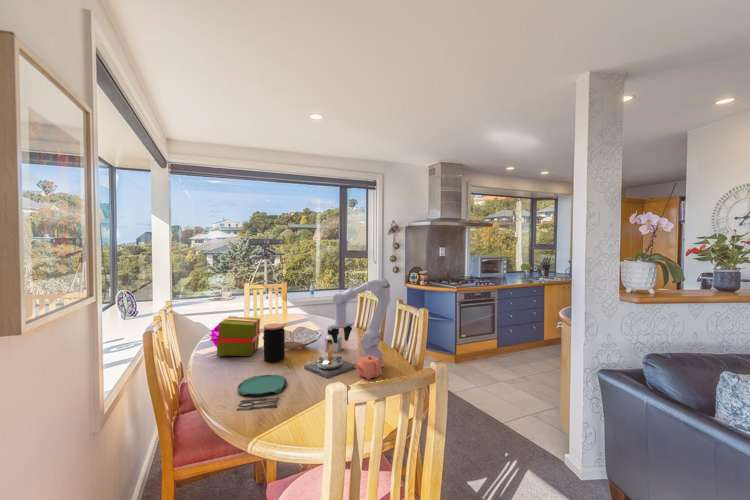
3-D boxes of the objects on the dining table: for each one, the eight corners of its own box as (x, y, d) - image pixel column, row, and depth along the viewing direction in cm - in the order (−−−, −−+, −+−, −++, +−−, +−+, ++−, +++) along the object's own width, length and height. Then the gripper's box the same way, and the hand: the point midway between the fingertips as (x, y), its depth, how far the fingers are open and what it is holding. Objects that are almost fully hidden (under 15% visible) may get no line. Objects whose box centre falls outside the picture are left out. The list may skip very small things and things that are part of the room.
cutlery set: (288, 377, 159) (288, 372, 158) (282, 409, 129) (282, 402, 129) (243, 380, 155) (243, 375, 155) (226, 414, 126) (225, 407, 126)
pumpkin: (354, 381, 153) (353, 359, 153) (359, 371, 165) (358, 351, 165) (380, 382, 152) (379, 360, 151) (383, 372, 163) (383, 352, 163)
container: (337, 352, 195) (337, 329, 194) (324, 351, 196) (324, 328, 196) (341, 348, 202) (341, 326, 202) (329, 347, 204) (329, 325, 203)
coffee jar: (287, 356, 188) (287, 323, 187) (280, 363, 177) (280, 328, 177) (268, 355, 189) (268, 323, 189) (260, 362, 178) (259, 327, 178)
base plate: (356, 367, 170) (356, 364, 170) (327, 378, 157) (327, 374, 157) (332, 359, 182) (332, 356, 182) (304, 368, 169) (304, 365, 169)
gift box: (258, 353, 204) (215, 351, 202) (262, 317, 208) (219, 315, 205) (250, 358, 184) (201, 356, 181) (254, 318, 187) (206, 316, 185)
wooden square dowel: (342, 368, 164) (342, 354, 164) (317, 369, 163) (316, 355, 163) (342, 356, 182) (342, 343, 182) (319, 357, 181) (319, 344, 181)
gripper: (347, 313, 190) (347, 337, 190) (324, 316, 180) (325, 342, 180) (355, 315, 184) (355, 340, 185) (332, 319, 175) (332, 345, 175)
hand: (340, 341), depth 182 cm, fingers open, 6 cm apart
